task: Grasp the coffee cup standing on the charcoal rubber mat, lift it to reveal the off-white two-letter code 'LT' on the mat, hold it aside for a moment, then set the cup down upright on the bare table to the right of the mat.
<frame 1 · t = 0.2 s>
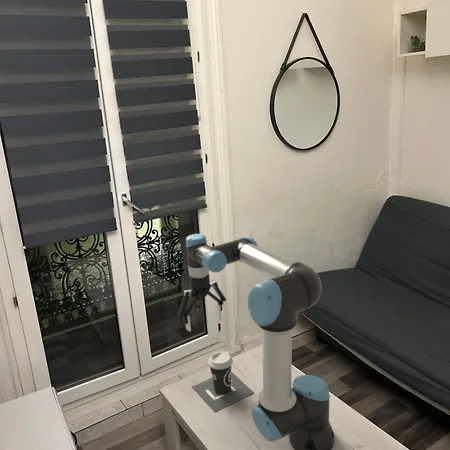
hand: (204, 324, 185), 27 cm above the table, fingers open, 13 cm apart
coffee cup: (222, 389, 189), resting on code mat
code mat: (222, 390, 189), on the table
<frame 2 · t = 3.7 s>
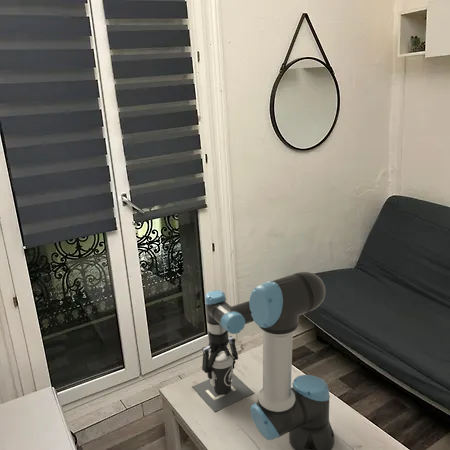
hand: (221, 380, 187), 5 cm above the table, fingers closed on coffee cup, 8 cm apart
coffee cup: (222, 389, 189), resting on code mat, touching gripper
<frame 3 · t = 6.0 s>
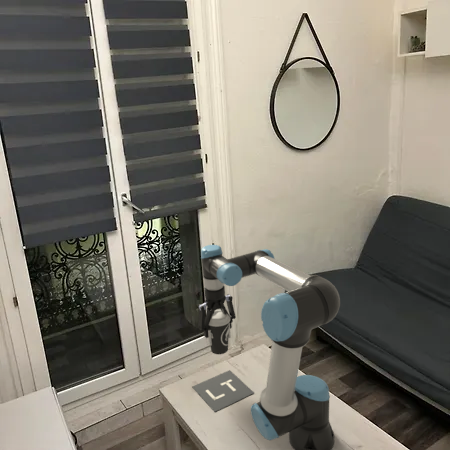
hand: (218, 340, 181), 23 cm above the table, fingers closed on coffee cup, 8 cm apart
coffee cup: (219, 350, 183), point 19 cm above the table, touching gripper
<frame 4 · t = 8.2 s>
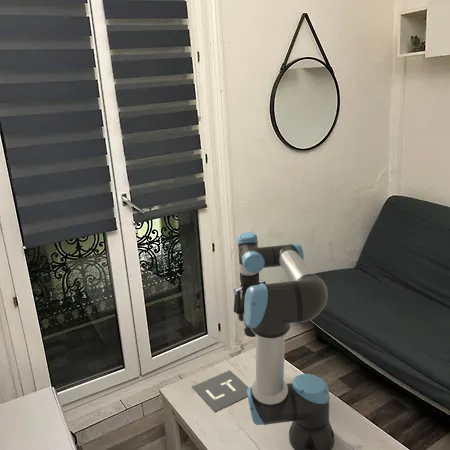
hand: (252, 323, 191), 23 cm above the table, fingers closed on coffee cup, 8 cm apart
coffee cup: (252, 333, 192), point 19 cm above the table, touching gripper
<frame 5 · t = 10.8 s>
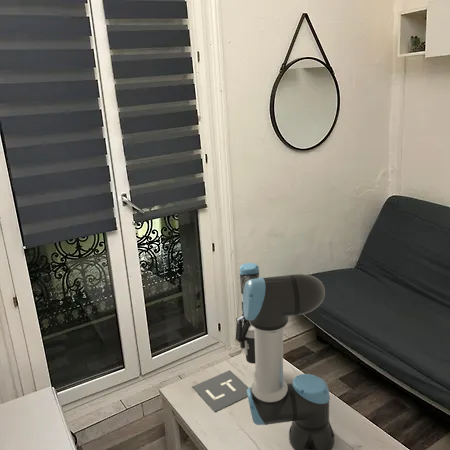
hand: (253, 350, 195), 10 cm above the table, fingers closed on coffee cup, 8 cm apart
coffee cup: (254, 359, 197), point 6 cm above the table, touching gripper
when the fingers open (5 cm above the table, at t = 13.1 s): coffee cup stays where it is, on the table.
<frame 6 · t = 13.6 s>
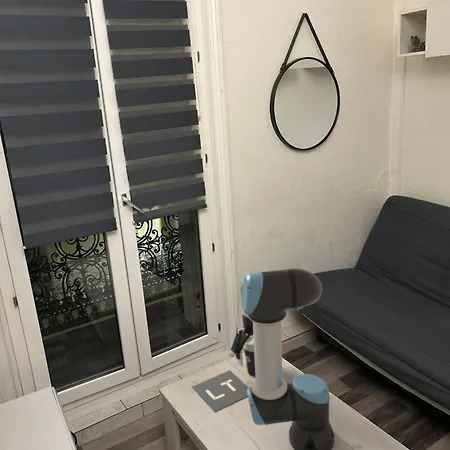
hand: (254, 358, 196), 6 cm above the table, fingers open, 13 cm apart
coffee cup: (255, 371, 199), on the table
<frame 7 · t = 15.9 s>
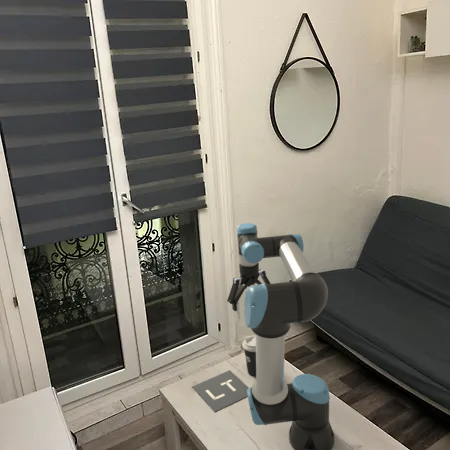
hand: (251, 311, 189), 28 cm above the table, fingers open, 13 cm apart
nothing on the table moved.
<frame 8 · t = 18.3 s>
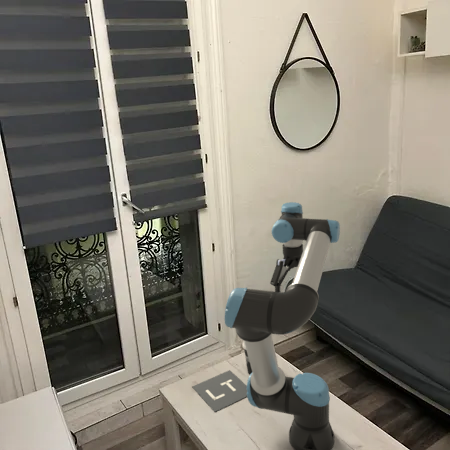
hand: (293, 295, 183), 37 cm above the table, fingers open, 13 cm apart
nothing on the table moved.
at the end: coffee cup inside the target area (0.3 cm from its centre), on the table; coffee cup tilted 0°; the gripper is holding nothing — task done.
